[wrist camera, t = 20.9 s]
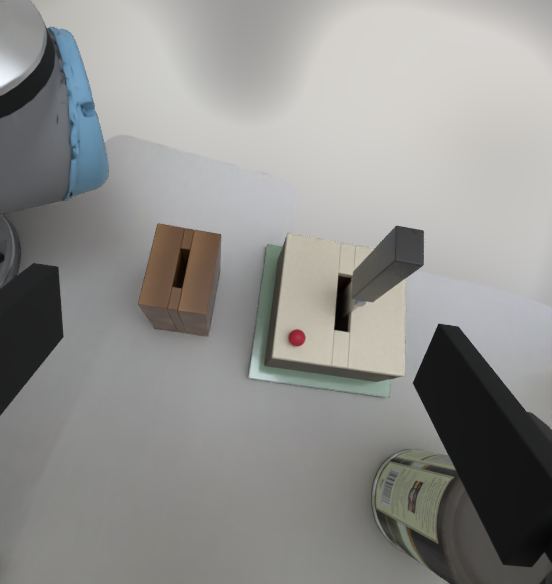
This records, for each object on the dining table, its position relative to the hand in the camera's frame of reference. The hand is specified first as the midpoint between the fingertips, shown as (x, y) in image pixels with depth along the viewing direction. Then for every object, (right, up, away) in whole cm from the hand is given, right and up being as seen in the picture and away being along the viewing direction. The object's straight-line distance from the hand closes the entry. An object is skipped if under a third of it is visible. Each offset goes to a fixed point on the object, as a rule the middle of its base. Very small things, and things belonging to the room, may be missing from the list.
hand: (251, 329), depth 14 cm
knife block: (-9, +1, +32) cm, 33 cm away
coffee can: (+16, -21, +29) cm, 39 cm away
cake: (+7, -2, +32) cm, 33 cm away
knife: (+7, -2, +32) cm, 33 cm away
